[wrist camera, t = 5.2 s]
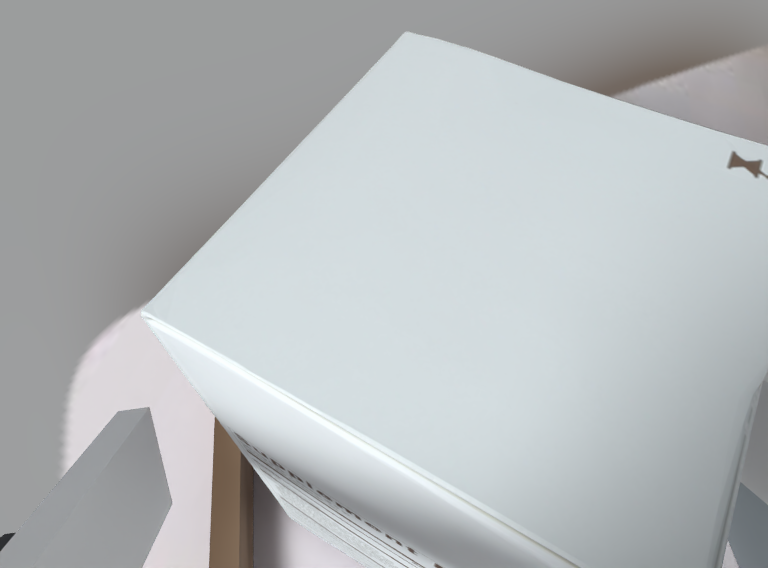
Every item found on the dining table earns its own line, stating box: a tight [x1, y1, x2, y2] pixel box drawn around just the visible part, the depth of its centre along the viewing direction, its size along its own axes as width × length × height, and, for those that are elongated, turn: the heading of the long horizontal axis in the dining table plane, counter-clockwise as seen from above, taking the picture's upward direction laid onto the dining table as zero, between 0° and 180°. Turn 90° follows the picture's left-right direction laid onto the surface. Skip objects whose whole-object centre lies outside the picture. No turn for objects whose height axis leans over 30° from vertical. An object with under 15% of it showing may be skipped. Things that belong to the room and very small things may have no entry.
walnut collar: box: [209, 417, 253, 568], centre depth 21 cm, size 16×16×2 cm
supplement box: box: [141, 32, 768, 568], centre depth 16 cm, size 9×9×15 cm
